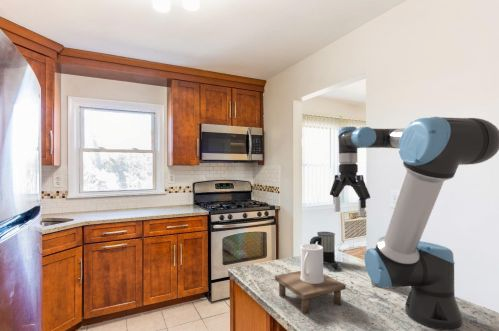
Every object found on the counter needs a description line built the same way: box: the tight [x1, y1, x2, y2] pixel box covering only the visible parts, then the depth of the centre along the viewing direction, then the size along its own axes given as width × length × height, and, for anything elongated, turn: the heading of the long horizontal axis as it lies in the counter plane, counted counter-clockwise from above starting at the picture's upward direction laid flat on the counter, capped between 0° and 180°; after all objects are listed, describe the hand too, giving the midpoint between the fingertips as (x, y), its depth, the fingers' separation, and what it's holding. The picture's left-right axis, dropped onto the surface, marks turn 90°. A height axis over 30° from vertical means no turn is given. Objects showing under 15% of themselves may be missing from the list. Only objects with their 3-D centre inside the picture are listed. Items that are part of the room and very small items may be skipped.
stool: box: [274, 270, 347, 315], centre depth 100 cm, size 18×18×7 cm
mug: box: [300, 243, 324, 284], centre depth 100 cm, size 12×8×12 cm
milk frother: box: [309, 231, 341, 270], centre depth 137 cm, size 14×16×15 cm
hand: (348, 213), depth 116 cm, fingers open, 13 cm apart
